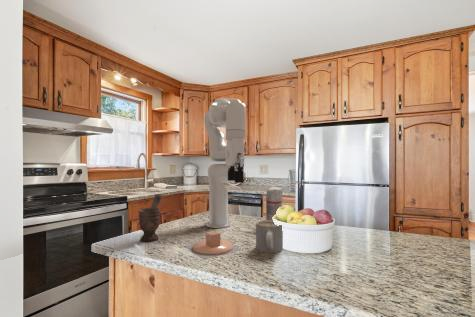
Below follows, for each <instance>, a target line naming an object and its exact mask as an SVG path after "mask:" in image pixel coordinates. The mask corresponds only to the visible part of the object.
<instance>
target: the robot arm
mask: <svg viewBox="0 0 475 317" xmlns="http://www.w3.org/2000/svg"><path fill="white" fill-rule="evenodd" d="M246 111H247V108H246V104H245V103H243V102H242V101H241V100H240V99H238V98H230V97H229V98H228V97H227V98H226V97H219V98H216V99H215V100H214V101H213V102H212V103H211V104H210V105H209V108H208V111H207V112H206V113H205V114H204V118H203V120H204V123H203V124H204V127H205V128H204V129H205V131H206V133H207V136H208V142H209V143H208V144H209V157H210V161H211V162H214V163H213V164H211V165H210V166H208V168H207V179H208V184H209V185H208V186H209V188H208V190H209V192H208V193H209V194H208V195H209V198H208V199H209V200H208V201H209V206H208V210H209V211H208V212H209V213H208V214H209V215H208V216H207V219H208V221H207V222H206V224H205V226H206V227H207V228H211V229H224V228H228V227H231V225H232V223H231V222H230V221H229V219H228V217H229V216H228V214H229V212H228V211H229V192H228V188H227V187H226V186H225V185H224V183H236V184H237V183H239V184H241V183H244V180H245V179H244V178H245V177H244V175H245V174H244V173H245V172H244V171H245V169H244V167H245V141H246V137H247V136H246V135H247V134H246V130H247V128H246V126H247V125H246V124H247V123H246V121H247V120H246V119H247V116H246V115H247V114H246ZM219 128H225V135H224V133H223V132H222V131H221V130H220V129H219Z"/></svg>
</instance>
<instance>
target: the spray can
mask: <svg viewBox="0 0 475 317" xmlns="http://www.w3.org/2000/svg"><path fill="white" fill-rule="evenodd" d="M265 199H266V200H265V201H266V204H265V209H266V210H265V212H266V215H265V216H266V218H265V220H272V217H273V216H274V215H275V214H276V211H277V209H278V208H279V207H281V206H282V207H283V188H282V187H275V186H271V187H270V188H269V189H266V197H265Z"/></svg>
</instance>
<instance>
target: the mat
mask: <svg viewBox="0 0 475 317" xmlns="http://www.w3.org/2000/svg"><path fill="white" fill-rule="evenodd" d="M220 239H221V238H220ZM221 240H223V239H221ZM193 244H194V243H192V244H187V245H184V247H185V248H187V249H188V250H190V251H191V252H193V253H194V254H195V255H197V256H198V257H200V258H202V259H203V260H206V259H209V258H214V257H215V258H216V257H219V256H224V255H227V254H230V253H231V254H232V253H236V252H240V251H243V249H242V248H240V247H238V246H236V245H234V244H233V249H232V250H231V251H230V252H227V253H224V254H219V255H204V254H199V253H196V252H195V251H194V250H193Z"/></svg>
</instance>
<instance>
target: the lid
mask: <svg viewBox="0 0 475 317" xmlns="http://www.w3.org/2000/svg"><path fill="white" fill-rule="evenodd" d="M192 244H193V250H194V251H195V252H196V253H199V254H204V255H219V254H223V255H225V254H224V253H227V252H230V251H231V250H232V249H233V245H234V244H233V242H231V241H229V240H226V239H222V240H221V233H220V232H218V231H216V230H215V231H214V230H213V231H208V232H207V231H206V233H205V239H202V240H199V241H196V242H194V243H192ZM196 253H195V254H196ZM219 256H220V255H219Z"/></svg>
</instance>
